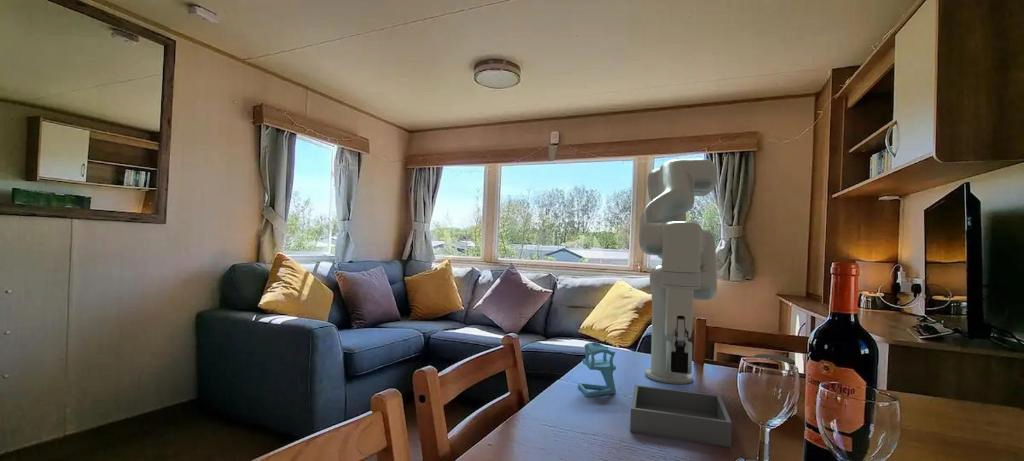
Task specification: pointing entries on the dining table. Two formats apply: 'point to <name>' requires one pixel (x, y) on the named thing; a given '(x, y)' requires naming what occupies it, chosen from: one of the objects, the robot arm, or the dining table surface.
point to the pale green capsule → (668, 357)
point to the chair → (601, 365)
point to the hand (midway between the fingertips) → (678, 368)
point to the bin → (680, 415)
